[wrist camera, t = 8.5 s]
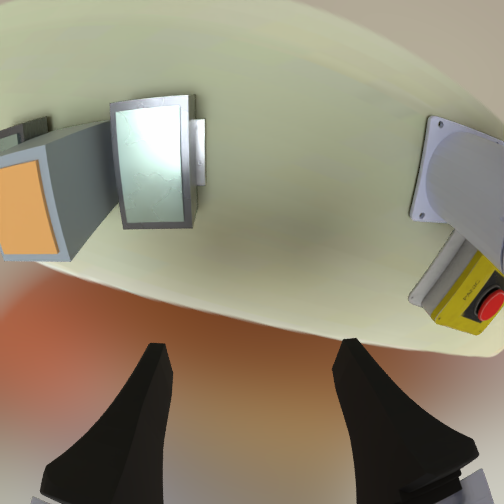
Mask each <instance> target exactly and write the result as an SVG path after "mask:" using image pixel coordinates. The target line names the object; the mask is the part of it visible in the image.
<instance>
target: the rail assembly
mask: <svg viewBox="0 0 504 504" xmlns="http://www.w3.org/2000/svg"><path fill="white" fill-rule="evenodd" d="M110 122H111V137H112V149H113V159H114V169H115V177H116V185H117V192H118V199H119V206H120V212H121V219H122V224H123V229H178V228H193V224H194V221H195V217H196V213H197V209H198V204H197V186H205V184H206V160H205V119H195V94H194V95H176V96H163V97H152V98H143V99H134V100H127V101H120V102H114V103H110ZM46 133H48V128H47V116H46V117H42V118H39V119H35V120H32V121H28V122H25V123H22V124H19V125H16V126H13V127H10V128H7V129H4V130H1V131H0V152H2V151H4V150H7V149H9V148H11V147H13V146H16V145H18V144H20V143H23V142H25V141H28V140H30V139H33V138H35V137H38V136H40V135H43V134H46Z"/></svg>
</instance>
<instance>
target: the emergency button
mask: <svg viewBox="0 0 504 504" xmlns="http://www.w3.org/2000/svg"><path fill="white" fill-rule="evenodd" d="M408 301H409V302H410V303H411V304H413V305H416V306H419V307H422V308H424V309H425V311H426V312H427V313H428V314H429V315H430V317H431V318H432V320H433V321H434V322H435V323H436V324H439V325H442V326H446V327H449V328H452V329H456V330H459V331H462V332H466V333H469V334H473V335H479V334H480V333H482V332H483V331H484V329H485V328H486V327H487V326H488V325H489V323H490V322H491V321H492V320H493V319H494V317H495V316H496V315H497V314H498V312H499V311H500V310H501V308H502V307H503V306H504V275H503V274H502V273H501V272H500V271H499V270H498V269H497V268H496V267H495V266H494V265H493V264H492V263H491V262H490V261H489V260H488V259H487V258H486V257H485V256H484V255H483V254H482V253H481V252H480V251H479V250H478V249H477V248H476V247H475V246H474V245H472V244H471V243H470V242H469V241H468V240H467V239H466V238H465V237H464V236H462V235H461V234H460V233H459V232H458V231H457V230H455V229H454V230H453V232H452V233H451V235H450V236H449V238H448V240H447V241H446V243H445V244H444V246H443V247H442V249H441V250H440V252H439V253H438V255H437V256H436V258H435V259H434V261H433V262H432V263H431V265H430V266H429V268H428V269H427V271H426V272H425V273H424V275H423V276H422V277H421V279H420V280H419V282H418V283H417V284H416V286H415V287H414V288H413V289H412V291H411V292H410V294H409V296H408Z"/></svg>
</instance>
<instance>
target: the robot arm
mask: <svg viewBox="0 0 504 504" xmlns="http://www.w3.org/2000/svg"><path fill="white" fill-rule="evenodd" d="M439 121H440V126H438V123H439ZM421 213H422V215H421V216H419V215H420V214H421ZM410 218H411V219H412V220H413V221H421V222H436V223H448V224H450V225H451V226H452V227H453V228H454V229H455V230H457V231H458V232H459V233H460V234H461V235H462V236H464V237H465V238H466V239H467V240H468V241H469V242H470V243H471V244H472V245H474V246H475V247H476V248H477V249H478V250H479V251H480V252H481V253H482V254H483V255H484V256H485V257H486V258H487V259H488V260H489V261H490V262H491V263H492V264H493V265H494V266H495V267H496V268H497V269H498V270H499V271H500V272H501V273H502V274H503V275H504V142H503V141H501V140H499V139H497V138H494V137H492V136H490V135H487V134H485V133H482V132H480V131H477V130H475V129H472V128H469V127H467V126H464V125H461V124H458V123H456V122H453V121H450V120H447V119H444V118H440V117H437V116H433V115H432V116H430V117H429V118H428V122H427V129H426V136H425V142H424V148H423V154H422V160H421V165H420V170H419V175H418V180H417V184H416V189H415V193H414V198H413V202H412V206H411V210H410ZM332 371H333V377H334V383H335V388H336V392H337V395H338V399H339V402H340V405H341V408H342V412H343V415H344V418H345V422H346V425H347V428H348V431H349V436H350V440H351V446H352V452H353V459H354V468H355V478H356V496H357V504H494V502H493V499H492V496H491V492H490V489H489V486H488V483H487V480H486V477H485V474H484V472H483V469H479V470H477V471H476V472H474V473H473V474H471V475H469V476H467V477H466V478H464V479H462V480H461V481H460V480H459V476H461V471H460V469H461V468H462V467H464V466H465V465H467V464H469V463H470V462H472V461H473V460H474V459H476V458H477V457H478V456H479V452H478V450H477V447H476V445H475V442H474V440H473V439H472V438H470V437H467V436H465V435H463V434H461V433H459V432H457V431H455V430H453V429H451V428H450V427H448V426H447V425H445V424H443V423H442V422H440V421H439V420H437V419H436V418H434V417H433V416H432V415H430V414H429V413H427V412H426V411H425V410H424V409H422V408H421V407H420V406H419V405H417V404H416V403H415V402H414V401H413V400H412V399H410V398H409V397H408V396H407V395H406V394H405V393H404V392H403V391H402V390H401V389H400V388H399V387H398V386H397V385H396V384H395V383H394V382H393V380H391V378H390V377H389V376H388V375H387V374H386V373H385V372H384V370H383V369H382V368H381V367H380V366H379V365H378V364H377V362H376V361H375V360H374V359H373V357H371V355H370V354H369V353H368V351H367V350H366V349H365V348H364V347H363V345H362V344H361V343H360V342H359V341H358V339H357V338H351V339H343V341H342V344H341V346H340V349H339V352H338V354H337V357H336V360H335V362H334V365H333V368H332ZM172 383H173V371H172V368H171V364H170V360H169V357H168V353H167V349H166V345H165V344H163V343H150V344H149V345H148V346H147V348H146V350H145V352H144V354H143V356H142V358H141V359H140V361H139V363H138V364H137V366H136V368H135V369H134V371H133V373H132V374H131V376H130V378H129V379H128V381H127V382H126V384H125V385H124V387H123V388H122V390H121V391H120V393H119V394H118V395H117V397H116V398H115V400H114V401H113V402H112V404H111V405H110V406H109V408H108V409H107V410H106V411H105V413H104V414H103V415H102V416H101V417H100V419H99V420H98V421H97V422H96V423H95V424H94V425H93V426H92V427H91V428H90V430H89V431H88V432H87V433H86V434H85V435H84V436H83V437H81V438H80V439H79V440H78V441H77V442H76V443H75V444H74V445H73V446H72V447H70V448H69V449H68V450H67V451H66V452H64V453H63V454H62V455H60V456H59V457H58V458H56V459H55V460H54V461H52V462H51V463H49V464H48V465H47V466H46V468H45V471H44V474H43V478H42V483H41V488H40V493H41V494H42V495H44V496H46V497H48V498H50V499H53V500H55V501H57V502H59V503H62V504H163V446H164V437H165V431H166V425H167V419H168V413H169V408H170V402H171V396H172ZM31 504H50V503H47V502H45V501H42V500H40V499H38V498H36V497H32V500H31Z"/></svg>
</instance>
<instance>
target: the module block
mask: <svg viewBox="0 0 504 504" xmlns="http://www.w3.org/2000/svg"><path fill="white" fill-rule="evenodd" d="M118 202H119V199H118V192H117V185H116V177H115V169H114V159H113V149H112V137H111V122H110V120H103V121H97V122H92V123H86V124H81V125H76V126H71V127H66V128H61V129H57V130H54V131H51V132H48V133H46V134H43V135H40V136H38V137H35V138H33V139H30V140H28V141H25V142H23V143H20V144H18V145H16V146H13V147H11V148H9V149H7V150H4V151H2V152H0V251H1V254H2V256H3V259H4V261H56V262H71V261H72V259H73V258H74V257H75V255H76V254H77V253H78V251H79V250H80V249H81V248H82V246H83V245H84V244H85V242H86V241H87V240H88V239H89V237H90V236H91V235H92V233H93V232H94V231H95V230H96V229H97V227H98V226H99V225H100V224H101V222H102V221H103V220H104V219H105V218H106V216H107V215H108V214H109V213H110V212H111V211H112V209H113V208H114V207H115V206H116V205H117V204H118Z"/></svg>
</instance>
